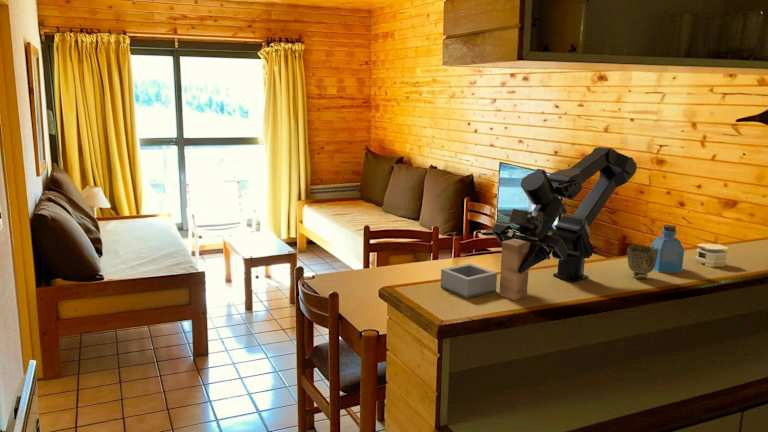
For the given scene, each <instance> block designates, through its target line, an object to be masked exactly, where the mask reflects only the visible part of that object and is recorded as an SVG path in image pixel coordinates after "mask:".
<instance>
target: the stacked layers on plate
mask: <svg viewBox="0 0 768 432" xmlns="http://www.w3.org/2000/svg"><path fill="white" fill-rule="evenodd" d="M697 246H699V247H698V248H697V249H696V251H697V255H696V256H695V258H696V259H699V260H702V261H704V266H705V267H709V268H715V267H725V266H726V262H728V259H727V255H728V254H729V252H728V251H727V250H725V249H729V247H728V246H725V245H723V244H717V243H716V244H715V243H698V244H697ZM723 249H724V250H723Z"/></svg>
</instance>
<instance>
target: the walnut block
mask: <svg viewBox="0 0 768 432" xmlns="http://www.w3.org/2000/svg"><path fill="white" fill-rule="evenodd" d="M529 248H530V242H526V241H522V240H518V239H511V240H507V241H503V242H502V244H501V259H500V260H501V262H500V276H499V277H500V279H499V294H498V295H499V296H501V297H504V298H507V299H510V300H513V301H517V300H519V299H522V298H523V299H524V298H526V297H528V283H529V282H528V281H529V270H530V268H529V269H527V270H526V271H524V272H522V273H519V272H518V269H519V267H520V265H521V263H522V261H523V260H524V258H525V256H526V255H527V253H528V252H529Z"/></svg>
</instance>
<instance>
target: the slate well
mask: <svg viewBox="0 0 768 432" xmlns="http://www.w3.org/2000/svg"><path fill="white" fill-rule="evenodd" d="M497 281H498V273H497V272H496V271H492V270H491V269H490V270H489V269H487V268H484V267H481V266H479V265H477V264H473V263H471V262H469V263H466V264H461V265H456V266H451V267H446V268H441V269H440V288H441V289H443V290H445V291H447V292H451V293H452V294H455V295H457V296H459V297H462V298H464V299H467V300H468V299H470V298H474V297H475V298H476V297H478V296H483V295H488V294H492V293H495V292H497V284H498V283H497Z"/></svg>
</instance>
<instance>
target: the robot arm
mask: <svg viewBox="0 0 768 432" xmlns="http://www.w3.org/2000/svg"><path fill="white" fill-rule="evenodd" d="M637 167H638V165H637V162H636V161H635V159H634V158H633V157H632V156H628V155H625V154H623V153H620V152H618V150H616V149H613V148H612V147H604V146H603V147H602V146H597V147H594V149H593V150H592V152H590V153H588V154H587V155H586V156H584V157H583V158H581V159H580V160H579V161H578V162H576V163H575V164H574V165H572V166H571V167H569V168H565V169H560V170H559V169H558V170H556V171H554V172H552V173H550V174H549V175H548V173H547V171H546V170H545V169H542V168H536V169H535V171H534V172H530V173H529V174H527V175H526V176H524V177H522V179H521V181H520V188H521V189H522V190H523V192H524V193H525V195H526V197H527V198H528V199H529V201H530V203H531V204H532V205H535V207H534V208H533V209H532V211H527V210H523V209H518V208H512V209H511V212H510V216H509V219H508V222H509V223H513V224H514V225H516V226H515V229H516V230H518V231H519V232H516V231H515V230H514V229H513V228H512V226H511V225H509V224H504V223H501V222H500V223H499V222H498V223H495V224H494V226H493V227H492V229H491V230H490V231H491V233H493V235H494V236H495V238H496V239H497V241H498V242H499V243H500V244H501V245H502V242H503V241H507V240H511V239H518V240H522V241H526V242H530V248H529V252H528V253H527V255H526V256H525V258H524V260H523V261H522V263H521V265H520V267H519V269H518V272H519V273H522V272H524V271H526V270H527V269H529V270H530V268H532V267H534V266H536V265H537V264H539V263H542V262H543V261H546V260H550V259H551V256H552V257H553V259H555V260H556V259H557V260H558V262H557V263H558V264H557V272H554V273H553V274H552V276H553V277H555V278H559V279H563V280H565V281H569V282H572V283H573V282H578V281H582V280H585V279H588V278H589V275H587V274H584V272H585V259H590V258H591V257H592V256H593V254H594V249H595V248H594V246H593V244H592V242H591V241H590V238H591V234H590V233H591V232H590V228H591V225H592V224H593V223H594V221H595V219H596V218H597V216H598V215H599V213H600V212H601V210H602V209H603V208H604V207H605V205H606V203H607V202H608V200H609V199H610V197H611V196H612V195H613V193H614V192H615V190H616V189H617V188H619V187H621V186H623V185H625V184H627V183H628V182H629V181H630V180H631V178H633V177H634V175H635V174H636V172H637V169H638V168H637ZM598 173H599V177H598V179H597V180H596V182H595V183H594V185H593V186H592V187H591V189H590V190H589V192H588V193H587V195H586V196H585V198H584V199H583V200H582V201H581V204H579V206H578V208H576V211H575V212H574V214H573V215H572V216H569V215H566V214H567V208H566V202H563V200H561V199H566V200H573V199H575V198H576V197H577V196H578V195H579V194H580V193H581V192H582V190H583V184H584V183H585V182H586V181H588V180H589V179H591V178H592V177H593V176H594V175H596V174H598ZM560 214H561V215H562V216H561V217H560V219H559V221H558V222H557V223H556V224H555V222H556V221H557V219H558V217H559V216H560ZM554 224H555V225H554ZM553 225H554V226H553ZM548 233H551V234H548ZM550 255H551V256H550Z"/></svg>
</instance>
